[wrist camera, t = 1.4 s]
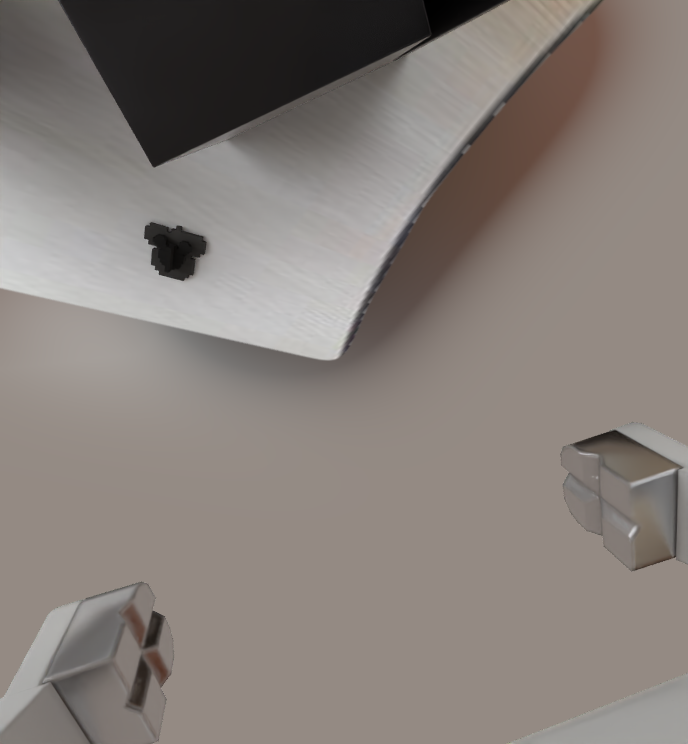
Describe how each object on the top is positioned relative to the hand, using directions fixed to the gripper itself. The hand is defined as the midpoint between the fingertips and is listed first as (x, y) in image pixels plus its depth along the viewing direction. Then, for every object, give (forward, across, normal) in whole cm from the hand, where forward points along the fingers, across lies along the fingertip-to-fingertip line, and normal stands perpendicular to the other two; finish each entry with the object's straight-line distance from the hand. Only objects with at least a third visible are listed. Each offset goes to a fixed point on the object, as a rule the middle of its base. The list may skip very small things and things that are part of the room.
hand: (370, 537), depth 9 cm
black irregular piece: (+44, +9, -6) cm, 46 cm away
